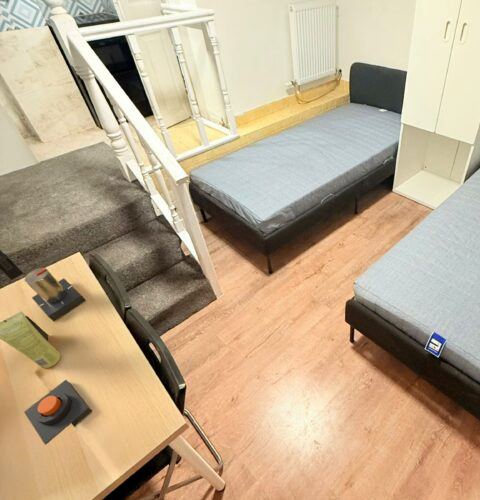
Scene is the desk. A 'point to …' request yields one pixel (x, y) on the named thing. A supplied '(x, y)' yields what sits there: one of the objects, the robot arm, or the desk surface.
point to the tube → (28, 340)
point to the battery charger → (38, 329)
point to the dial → (45, 285)
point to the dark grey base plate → (58, 412)
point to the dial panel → (61, 302)
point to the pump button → (49, 405)
